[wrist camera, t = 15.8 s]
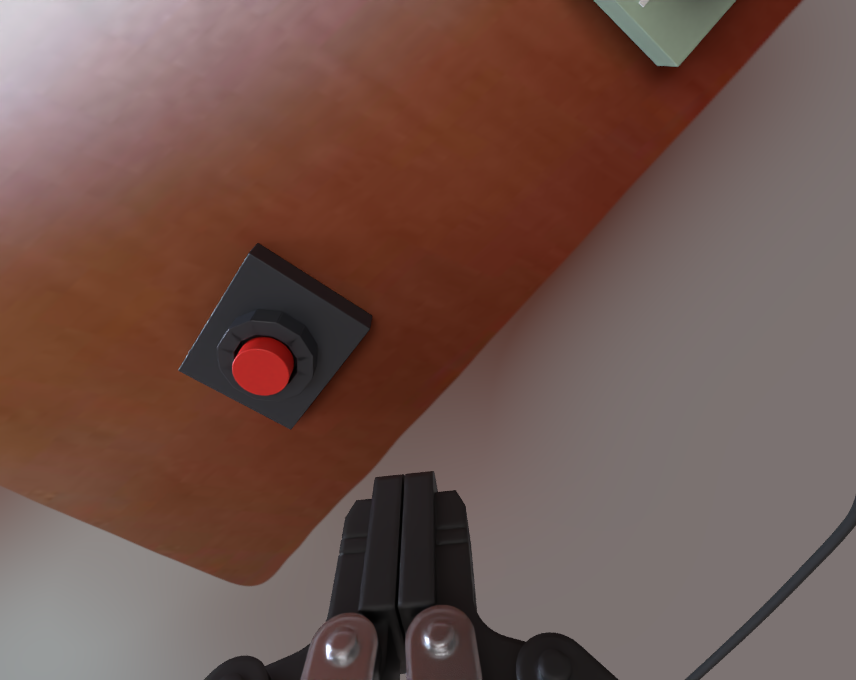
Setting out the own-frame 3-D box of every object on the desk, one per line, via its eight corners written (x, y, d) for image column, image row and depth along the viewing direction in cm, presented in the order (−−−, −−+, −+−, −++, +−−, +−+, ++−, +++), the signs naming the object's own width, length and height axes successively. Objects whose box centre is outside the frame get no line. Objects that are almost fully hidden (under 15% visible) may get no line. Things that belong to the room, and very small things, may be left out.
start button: (278, 391, 39) (272, 405, 37) (229, 364, 38) (221, 378, 36) (304, 355, 37) (299, 368, 36) (255, 326, 36) (247, 338, 34)
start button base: (296, 413, 44) (285, 444, 41) (188, 356, 41) (167, 383, 38) (372, 315, 40) (368, 340, 36) (257, 242, 37) (240, 262, 33)
